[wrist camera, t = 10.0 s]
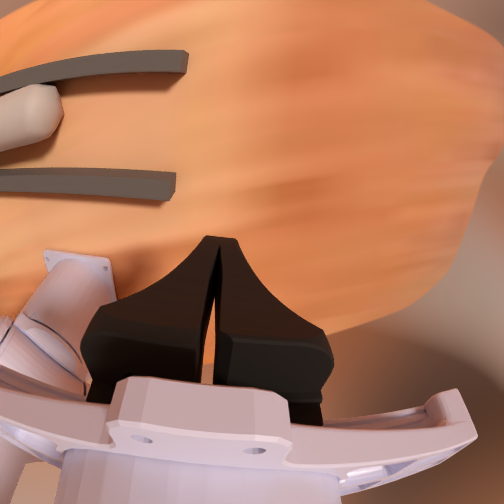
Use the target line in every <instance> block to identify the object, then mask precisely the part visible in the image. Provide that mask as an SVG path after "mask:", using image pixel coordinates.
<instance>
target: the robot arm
mask: <svg viewBox="0 0 504 504" xmlns="http://www.w3.org/2000/svg"><path fill="white" fill-rule="evenodd" d="M43 256H44V260H45V264H46V267H47V271H48V274H47V276H46V277H45V278H44V280H43V281H42V282H41V284H40V285H39V286H38V288H37V289H36V290H35V292H34V293H33V294H32V296H31V297H30V299H29V300H28V301H27V303H26V304H25V306H24V307H23V309H22V310H21V312H20V313H19V315H18V316H17V317H16V318H15V319H14V321H13V319H12V318H11V317H10V316H9V315H7V316H0V504H10V502H11V499H12V496H13V494H14V491H15V489H16V486H17V483H18V481H19V478H20V476H21V473H22V471H23V469H24V466H25V464H26V463H32V462H44V461H46V462H48V463H49V464H51V465H54V466H56V467H58V468H60V469H61V474H60V478H59V482H58V487H57V492H56V497H55V503H54V504H341V498H340V496H343V495H346V494H351V493H355V492H359V491H363V490H366V489H370V488H373V487H376V486H380V485H383V484H386V483H389V482H392V481H395V480H398V479H401V478H403V477H406V476H409V475H412V474H415V473H417V472H420V471H422V470H425V469H428V468H430V467H433V466H435V465H437V464H440V463H441V462H443V461H444V460H446V459H448V458H449V457H451V456H452V455H454V454H455V453H457V452H458V451H460V450H461V449H463V448H464V447H465V446H467V445H468V444H470V443H471V442H472V441H474V440H475V439H476V438H477V437H478V435H477V432H476V430H475V427H474V425H473V423H472V420H471V418H470V415H469V413H468V411H467V409H466V406H465V404H464V402H463V400H462V397H461V395H460V393H459V391H458V389H452V390H448V391H444V392H440V393H437V394H435V395H434V396H432V397H431V398H430V399H429V400H428V401H427V402H426V403H425V405H424V406H419V407H415V408H410V409H405V410H400V411H395V412H389V413H383V414H377V415H370V416H362V417H355V418H345V419H336V420H323V419H322V413H321V408H320V403H321V402H322V394H321V389H322V387H323V386H324V384H325V382H326V381H327V379H328V377H329V376H330V374H331V372H332V370H333V368H334V358H333V354H332V350H331V347H330V345H329V343H328V340H327V338H326V336H325V333H324V331H323V330H322V329H320V328H319V327H317V326H315V325H313V324H311V323H310V322H308V321H306V320H304V319H303V318H301V317H300V316H298V315H297V314H296V313H294V312H293V311H291V310H290V309H289V308H287V307H286V306H285V305H284V304H282V303H281V302H280V301H279V300H278V299H277V298H276V297H274V296H273V295H272V294H271V293H270V292H269V291H268V289H267V288H266V287H265V286H264V285H263V284H262V283H261V281H260V280H259V279H258V277H257V276H256V274H255V273H254V272H253V270H252V269H251V267H250V265H249V264H248V262H247V260H246V258H245V257H244V255H243V253H242V251H241V248H240V246H239V243H238V241H237V240H236V239H234V238H225V237H216V236H207V235H206V236H205V237H204V238H203V239H202V241H201V242H200V243H199V244H198V246H197V247H196V248H195V249H194V250H193V251H192V253H191V254H190V255H189V256H188V257H187V258H186V259H185V260H184V261H183V262H182V263H181V264H179V265H178V266H177V267H176V268H175V269H174V270H173V271H171V272H170V273H169V274H168V275H166V276H165V277H164V278H162V279H161V280H159V281H158V282H156V283H154V284H152V285H151V286H149V287H147V288H146V289H144V290H142V291H140V292H137V293H135V294H133V295H131V296H128V297H126V298H123V299H121V300H118V301H117V298H116V292H115V286H114V280H113V274H112V267H111V262H110V260H109V259H108V258H106V257H99V256H91V255H84V254H77V253H70V252H63V251H57V250H50V249H45V250H44V251H43ZM48 258H49V259H48ZM105 266H106V267H107V268H106V267H105ZM214 297H215V357H214V372H213V385H211V384H202V383H201V376H202V365H203V354H204V345H205V339H206V334H207V329H208V325H209V320H210V316H211V311H212V306H213V302H214ZM12 321H13V322H12ZM91 377H92V379H93V380H92V383H91V386H90V385H89V384H88V383H87V382H85V381H87V380H88V379H90V378H91Z"/></svg>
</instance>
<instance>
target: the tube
mask: <svg viewBox="0 0 504 504" xmlns="http://www.w3.org/2000/svg"><path fill="white" fill-rule="evenodd" d="M63 115H64V110H63V106H62V102H61V98H60V95H59V93H58V91H57V88H56V86H52V85H49V84H45V83H43V84H33V85H28V86H26V87H23V88H20V89H18V90H15V91H13V92H11V93H8V94H6V95H3V96H1V97H0V152H2V151H5V150H9V149H13V148H17V147H21V146H25V145H29V144H33V143H37V142H39V141H42V140H44V139H47V138H50V136H51V135H52V134H53V132H54V131H55V130H56V128H57V126H58V124H59V122H60V120H61V118H62V116H63Z"/></svg>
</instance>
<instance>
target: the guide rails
mask: <svg viewBox="0 0 504 504" xmlns="http://www.w3.org/2000/svg"><path fill="white" fill-rule="evenodd" d="M188 57H189V53H187V52H186V51H184V50H143V51H126V52H115V53H105V54H97V55H89V56H83V57H77V58H71V59H65V60H60V61H55V62H51V63H46V64H42V65H38V66H34V67H30V68H27V69H23V70H20V71H16V72H13V73H10V74H7V75H4V76H1V77H0V94H2V93H6V92H10V91H13V90H17V89H20V88H23V87H26V86H28V85H33V84H43V83H49V82H55V81H61V80H67V79H74V78H82V77H90V76H100V75H112V74H129V73H186V71H187V64H188ZM175 184H176V173H173V172H160V171H146V170H129V169H106V168H17V169H0V191H7V192H43V193H65V194H84V195H100V196H115V197H128V198H140V199H152V200H163V201H170V199H171V197H172V196H173V194H174V192H175Z"/></svg>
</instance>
